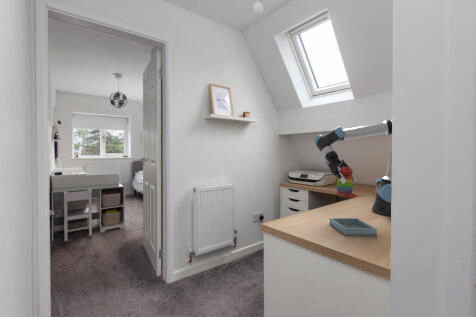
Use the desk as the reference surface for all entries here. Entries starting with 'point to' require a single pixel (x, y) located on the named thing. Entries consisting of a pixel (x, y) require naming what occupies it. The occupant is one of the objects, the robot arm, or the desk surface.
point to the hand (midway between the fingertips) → (350, 182)
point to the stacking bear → (347, 187)
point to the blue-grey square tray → (352, 227)
